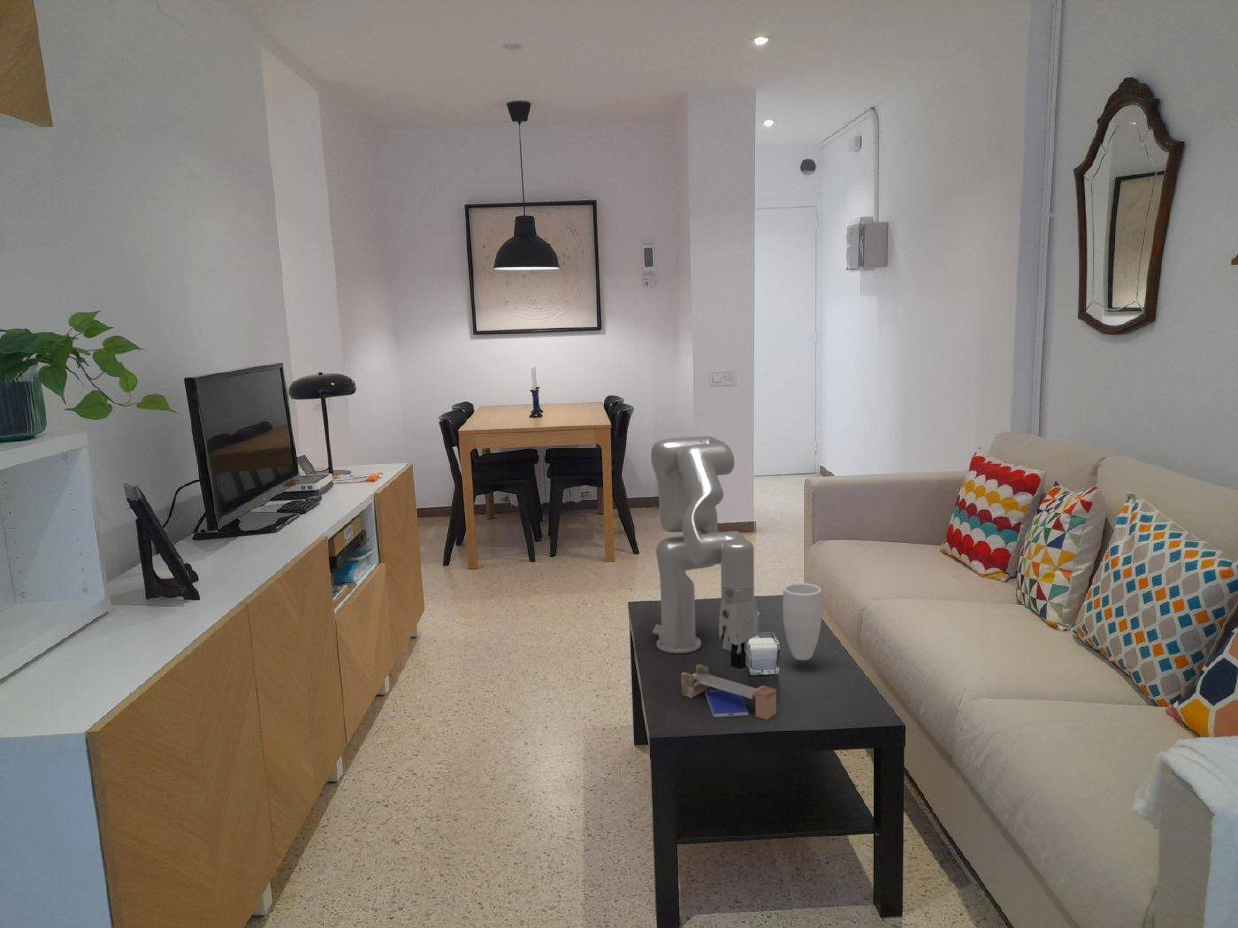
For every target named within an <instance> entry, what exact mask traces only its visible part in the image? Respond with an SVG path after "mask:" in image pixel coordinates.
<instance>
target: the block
mask: <svg viewBox="0 0 1238 928" xmlns="http://www.w3.org/2000/svg"><path fill="white" fill-rule="evenodd" d="M753 695H755V697H754V698H755V717H757V718H760V719H763V720H765V719H766V720H765V721H767V720H769V719H770V718H772V717H773V716H775V715H776V714H777V688H773V687H769V686H766V685H760V686H759V687H758V688H757V689H756V690H754V691H753Z"/></svg>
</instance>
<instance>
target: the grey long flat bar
mask: <svg viewBox="0 0 1238 928" xmlns="http://www.w3.org/2000/svg"><path fill="white" fill-rule="evenodd" d="M692 675H694V683H696V682H698V683H701V684H704V685H707V686H709V687H712V688H715V689H721V690H724V691H727V692H731V693H734V694H737V695H740V696H741V697H744V698H747V699H751V700H753V699H754V698H755V695H753V691H754V690H756V689H757V688H756V687H752V686H749V685H746V684H742V683H739V682H736V681H732V680H729V679H725V678H722V677H718V676H715V675H711V674H710V673H709V674H705V673H702V672H701V671H698V672H696V671H695V672H694V673H692Z"/></svg>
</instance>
